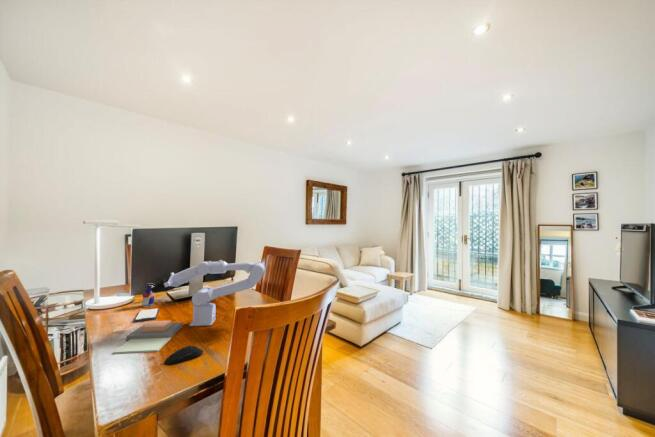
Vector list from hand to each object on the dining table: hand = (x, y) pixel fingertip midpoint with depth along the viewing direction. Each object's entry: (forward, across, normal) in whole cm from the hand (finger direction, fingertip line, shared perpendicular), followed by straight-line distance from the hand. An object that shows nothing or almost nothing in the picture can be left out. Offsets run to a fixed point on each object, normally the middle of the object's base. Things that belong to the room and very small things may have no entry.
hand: (156, 288), depth 116 cm
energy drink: (+23, -29, +8) cm, 38 cm away
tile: (+2, +9, +16) cm, 18 cm away
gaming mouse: (-14, +32, +26) cm, 43 cm away
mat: (+2, +20, +18) cm, 27 cm away
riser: (+2, +9, +18) cm, 20 cm away
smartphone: (+16, -13, +12) cm, 24 cm away
